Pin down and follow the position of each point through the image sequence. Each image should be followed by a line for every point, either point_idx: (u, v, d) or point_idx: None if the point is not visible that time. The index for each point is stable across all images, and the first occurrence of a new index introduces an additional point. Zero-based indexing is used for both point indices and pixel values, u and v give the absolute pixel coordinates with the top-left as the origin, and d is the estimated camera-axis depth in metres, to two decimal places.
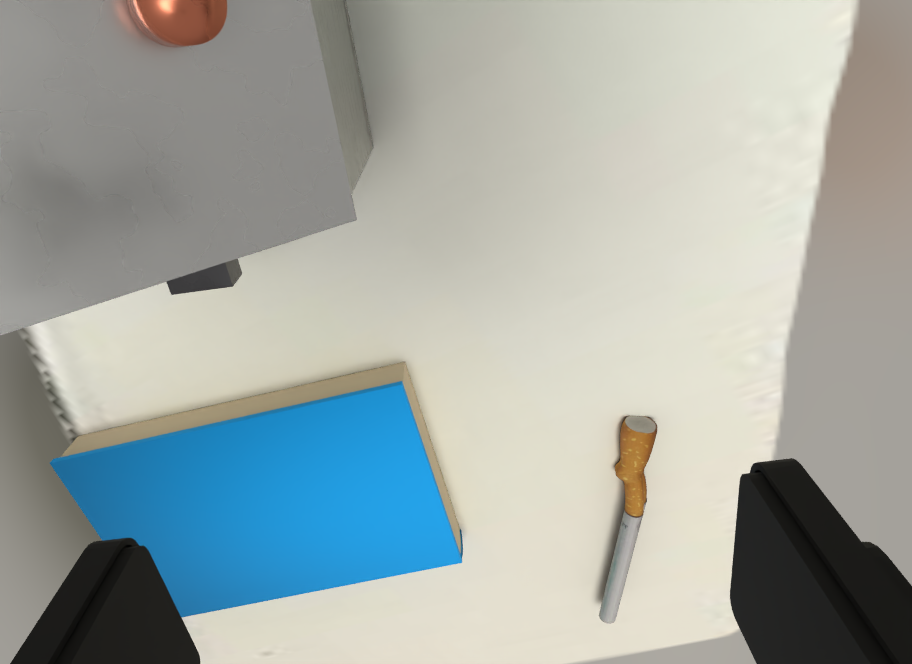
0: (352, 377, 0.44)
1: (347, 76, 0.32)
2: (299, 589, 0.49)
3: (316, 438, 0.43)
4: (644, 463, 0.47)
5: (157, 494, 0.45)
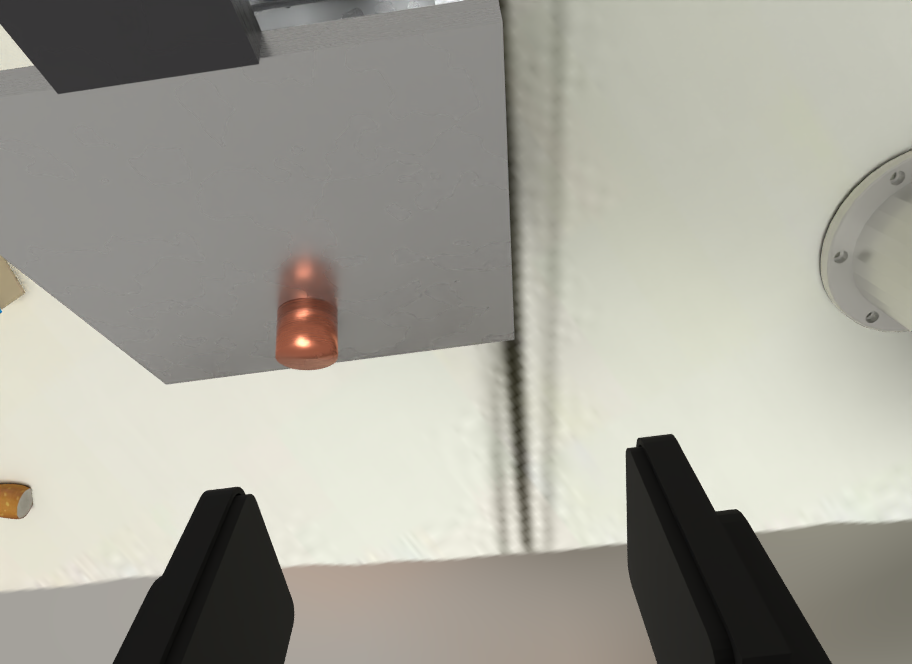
0: None
1: None
2: None
3: None
4: None
5: None
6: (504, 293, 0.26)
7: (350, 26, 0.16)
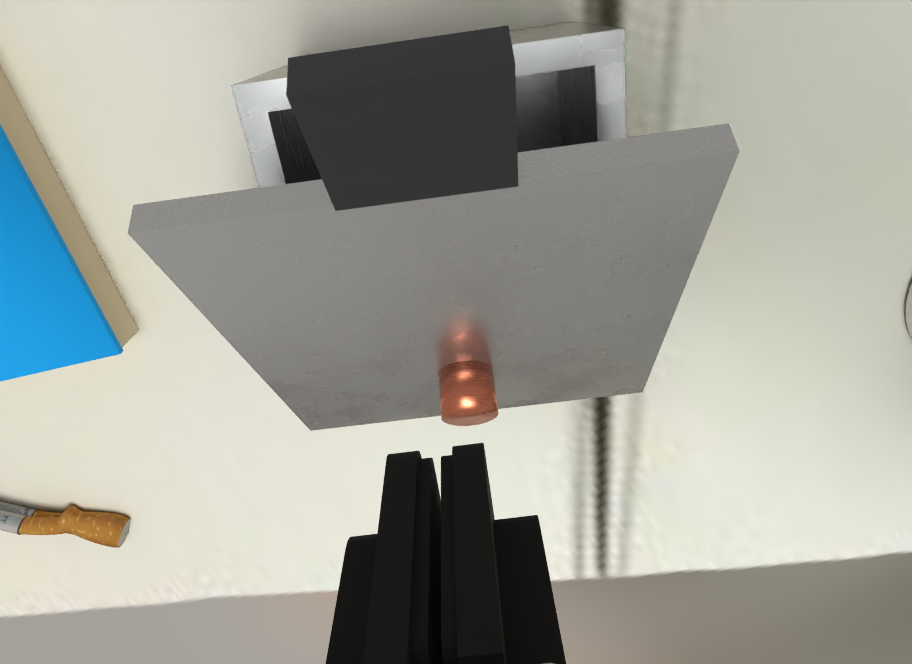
0: (110, 284, 0.43)
1: None
2: None
3: (28, 268, 0.39)
4: (82, 537, 0.51)
5: None
6: (649, 356, 0.28)
7: (596, 151, 0.17)
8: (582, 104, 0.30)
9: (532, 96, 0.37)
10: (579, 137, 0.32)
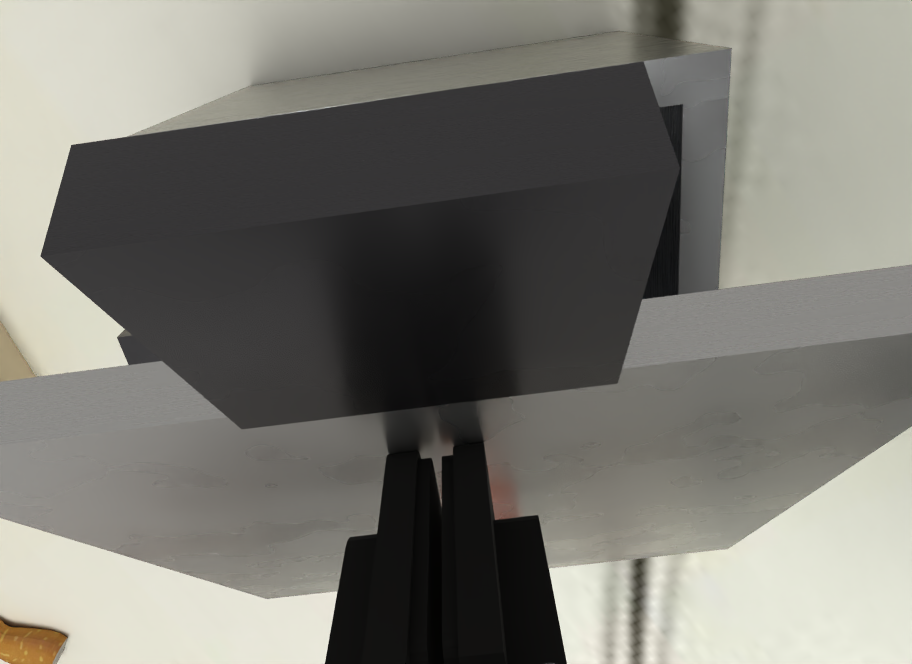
0: (20, 365, 0.34)
1: None
2: None
3: None
4: (5, 661, 0.42)
5: None
6: (754, 524, 0.19)
7: (771, 304, 0.09)
8: None
9: None
10: None
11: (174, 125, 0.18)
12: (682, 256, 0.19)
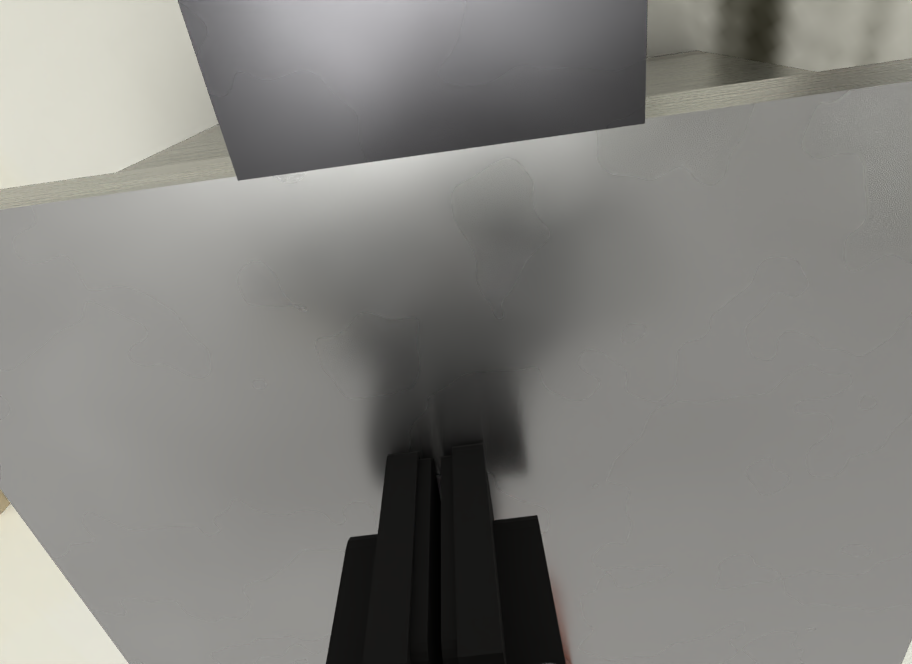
0: None
1: None
2: None
3: None
4: None
5: None
6: (887, 659, 0.14)
7: (805, 80, 0.08)
8: None
9: None
10: None
11: None
12: None
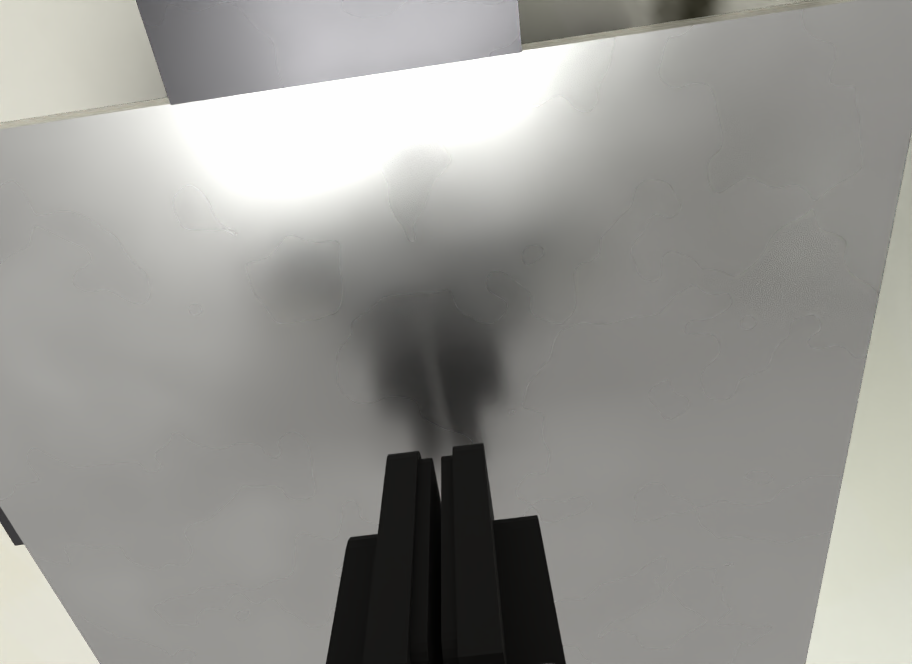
0: None
1: None
2: None
3: None
4: None
5: None
6: (804, 597, 0.15)
7: (662, 25, 0.10)
8: None
9: None
10: None
11: None
12: None
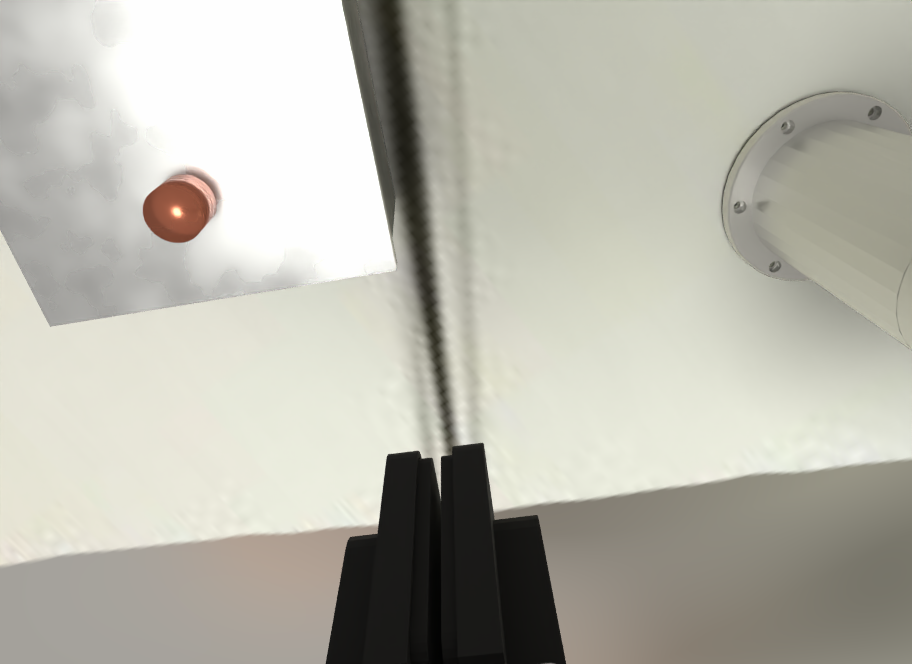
0: None
1: None
2: None
3: None
4: None
5: None
6: (370, 183, 0.28)
7: None
8: None
9: None
10: None
11: None
12: None
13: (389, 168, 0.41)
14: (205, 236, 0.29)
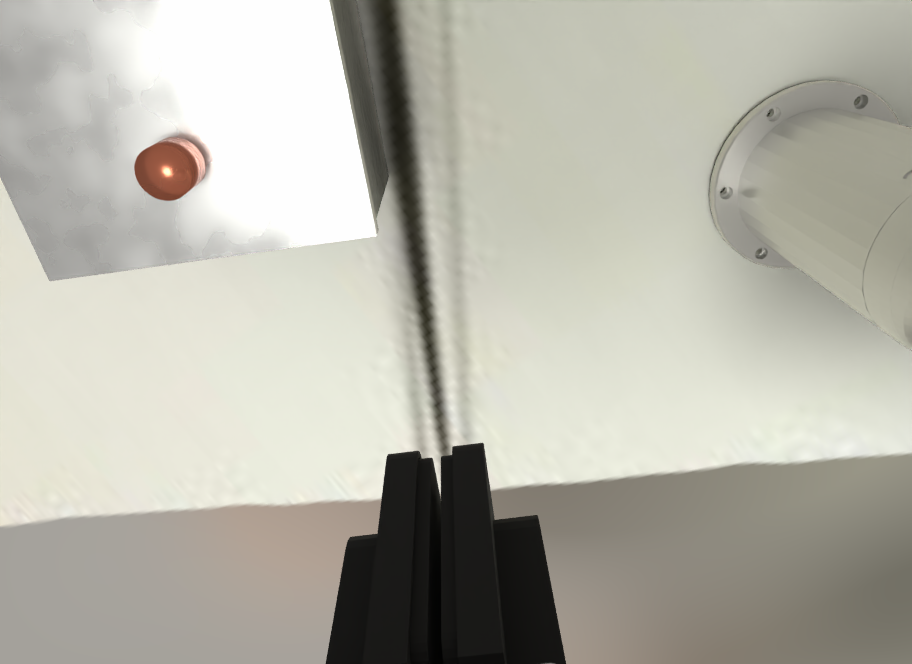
0: None
1: None
2: None
3: None
4: None
5: None
6: (352, 150, 0.30)
7: None
8: None
9: None
10: None
11: None
12: None
13: None
14: (195, 197, 0.31)
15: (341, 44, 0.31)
